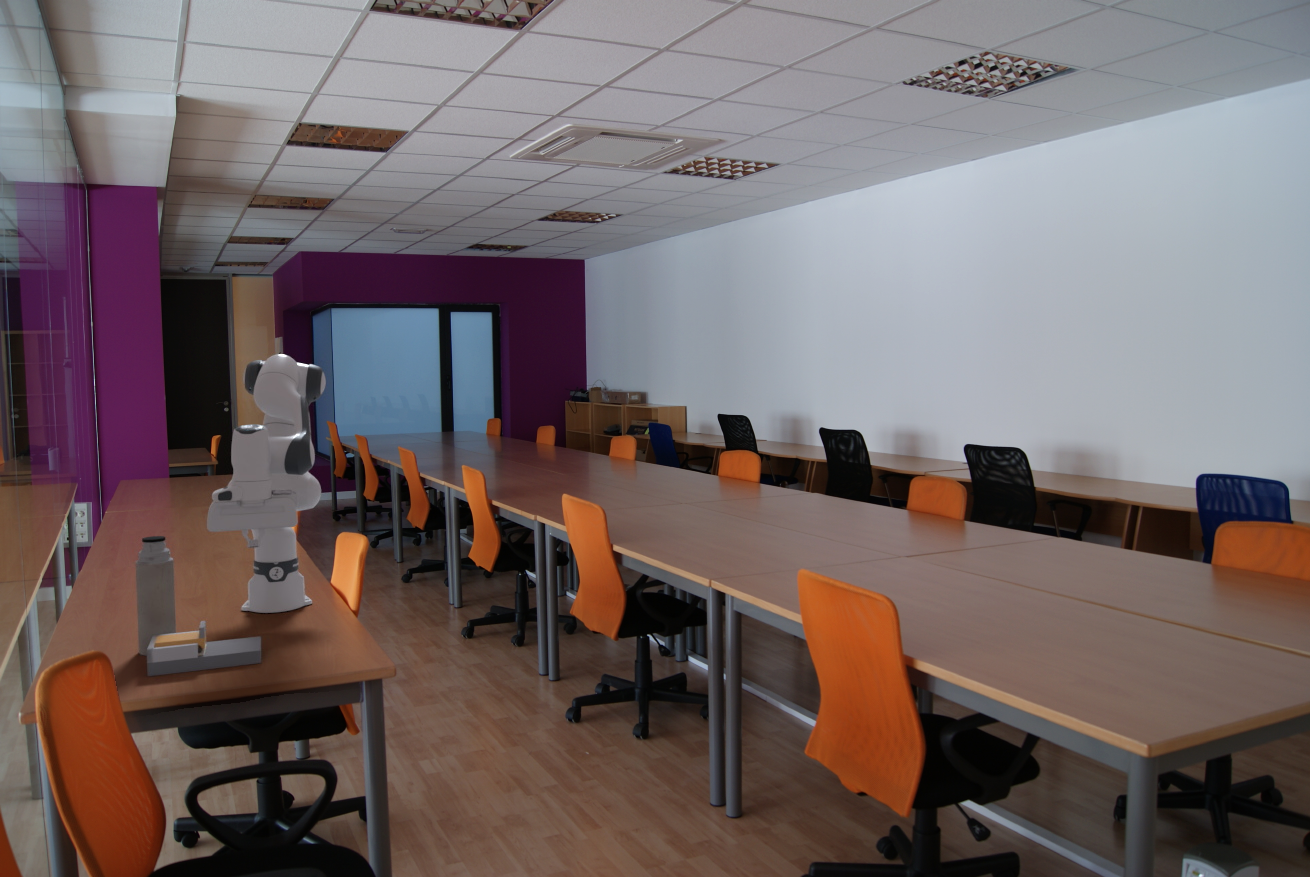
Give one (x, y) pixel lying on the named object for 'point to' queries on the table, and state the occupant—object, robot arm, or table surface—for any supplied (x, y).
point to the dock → (202, 655)
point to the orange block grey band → (184, 638)
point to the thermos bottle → (154, 591)
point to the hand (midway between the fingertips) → (253, 547)
